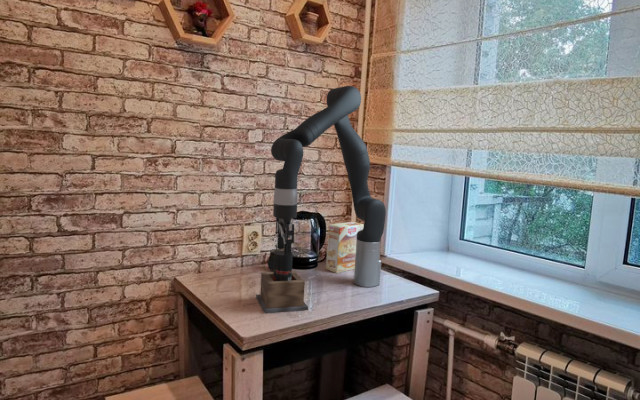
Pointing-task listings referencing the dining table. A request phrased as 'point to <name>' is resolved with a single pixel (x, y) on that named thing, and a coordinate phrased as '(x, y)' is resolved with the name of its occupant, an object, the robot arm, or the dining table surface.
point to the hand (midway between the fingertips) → (283, 252)
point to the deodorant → (282, 266)
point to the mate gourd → (272, 259)
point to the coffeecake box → (342, 246)
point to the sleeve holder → (281, 294)
